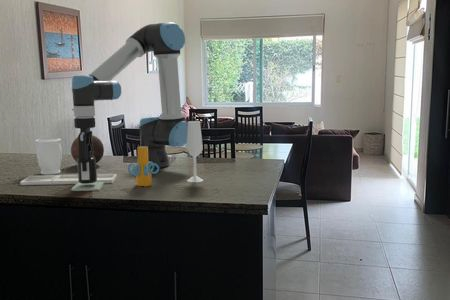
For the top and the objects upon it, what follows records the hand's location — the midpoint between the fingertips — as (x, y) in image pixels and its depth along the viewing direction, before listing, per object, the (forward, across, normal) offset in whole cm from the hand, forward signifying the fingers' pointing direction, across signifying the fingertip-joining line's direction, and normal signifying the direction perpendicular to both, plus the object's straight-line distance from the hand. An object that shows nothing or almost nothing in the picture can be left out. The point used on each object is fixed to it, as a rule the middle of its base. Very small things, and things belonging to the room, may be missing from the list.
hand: (87, 177), depth 176 cm
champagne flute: (+4, -8, +41) cm, 42 cm away
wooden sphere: (+4, -45, -9) cm, 46 cm away
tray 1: (+4, -12, -22) cm, 25 cm away
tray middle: (+4, -12, -10) cm, 16 cm away
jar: (+4, -29, -22) cm, 37 cm away
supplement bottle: (+2, 0, 0) cm, 2 cm away
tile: (+4, 0, 0) cm, 4 cm away
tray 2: (+4, -12, +2) cm, 13 cm away
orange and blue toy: (+4, -2, +21) cm, 21 cm away
